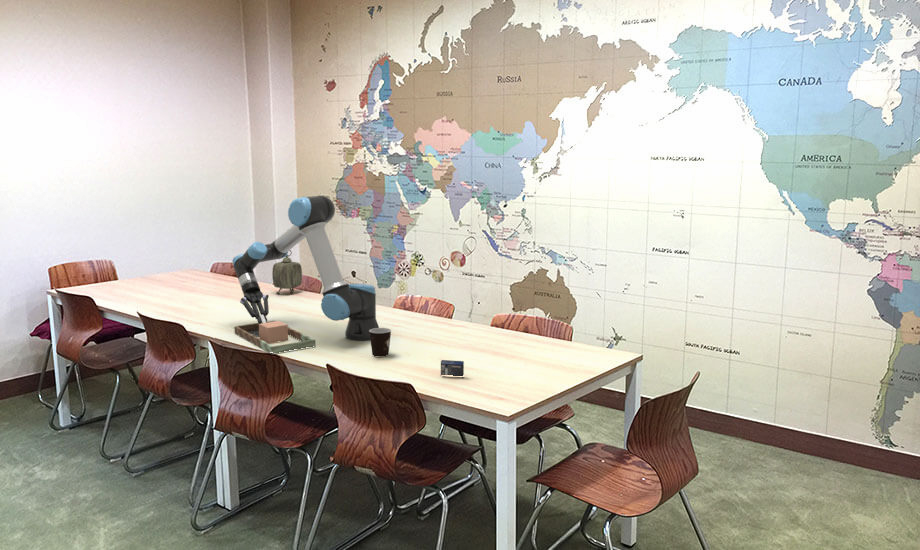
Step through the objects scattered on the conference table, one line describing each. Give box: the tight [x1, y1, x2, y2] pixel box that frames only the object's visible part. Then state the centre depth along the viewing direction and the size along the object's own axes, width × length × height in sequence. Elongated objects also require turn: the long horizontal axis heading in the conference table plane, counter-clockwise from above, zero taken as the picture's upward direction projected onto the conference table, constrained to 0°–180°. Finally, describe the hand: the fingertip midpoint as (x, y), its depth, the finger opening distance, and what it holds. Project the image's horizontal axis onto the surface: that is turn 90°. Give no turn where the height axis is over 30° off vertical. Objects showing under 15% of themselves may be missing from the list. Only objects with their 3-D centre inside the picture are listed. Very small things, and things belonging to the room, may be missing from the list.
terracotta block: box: [258, 320, 289, 345], centre depth 328 cm, size 9×9×7 cm
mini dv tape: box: [440, 359, 465, 376], centre depth 277 cm, size 8×2×6 cm, turn 80°
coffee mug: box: [369, 327, 392, 357], centre depth 304 cm, size 12×9×10 cm
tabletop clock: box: [271, 249, 303, 296], centre depth 424 cm, size 14×9×25 cm, turn 144°
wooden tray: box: [234, 320, 316, 354], centre depth 328 cm, size 42×19×3 cm, turn 36°
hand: (265, 328), depth 333 cm, fingers closed
